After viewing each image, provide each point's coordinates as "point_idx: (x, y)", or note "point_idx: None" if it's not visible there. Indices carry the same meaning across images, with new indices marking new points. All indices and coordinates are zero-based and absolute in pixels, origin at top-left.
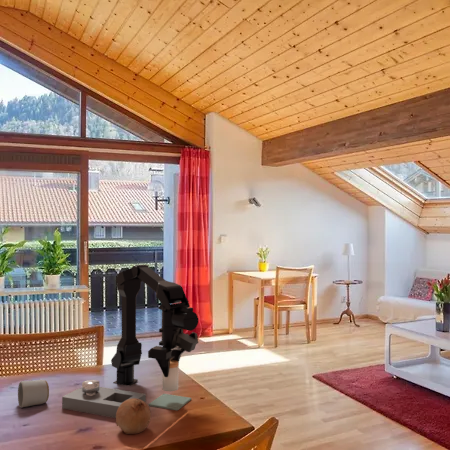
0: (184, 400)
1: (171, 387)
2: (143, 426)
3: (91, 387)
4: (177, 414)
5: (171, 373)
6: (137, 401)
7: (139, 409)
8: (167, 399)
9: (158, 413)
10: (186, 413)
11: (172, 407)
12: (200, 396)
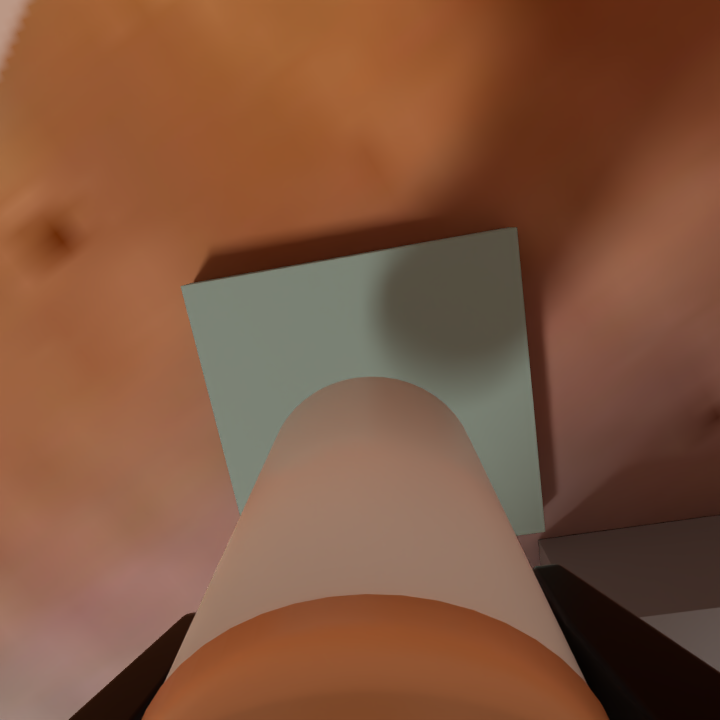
0: (285, 302)
1: (454, 426)
2: None
3: None
4: (557, 190)
5: (513, 557)
6: None
7: None
8: None
9: (616, 360)
10: (491, 124)
11: (510, 292)
12: (35, 277)
